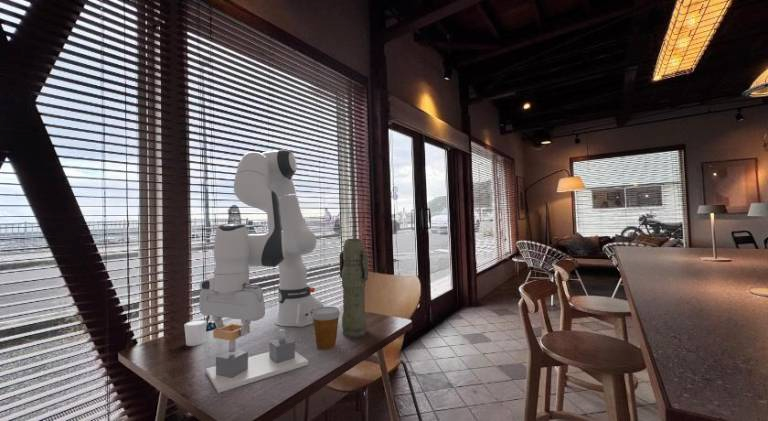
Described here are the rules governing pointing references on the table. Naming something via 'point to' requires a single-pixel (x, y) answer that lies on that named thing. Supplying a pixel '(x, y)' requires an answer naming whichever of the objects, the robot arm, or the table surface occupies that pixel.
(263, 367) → the jig plate
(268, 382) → the table surface
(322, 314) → the disposable coffee cup
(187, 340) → the white cup
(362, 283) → the thermos
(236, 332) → the ring
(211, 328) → the bird
